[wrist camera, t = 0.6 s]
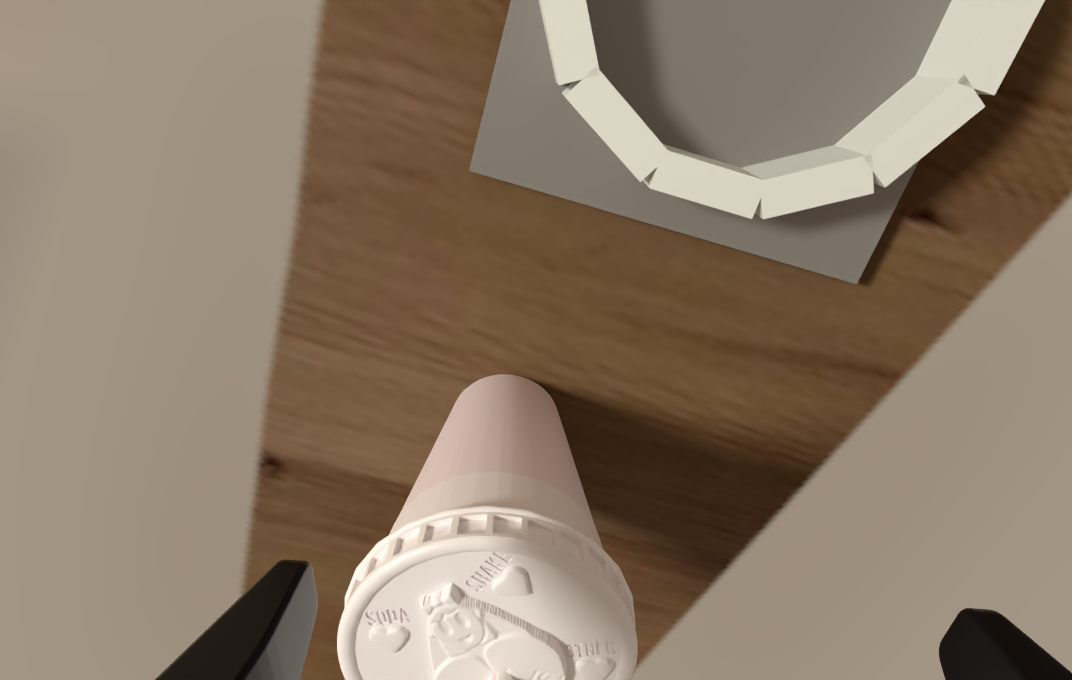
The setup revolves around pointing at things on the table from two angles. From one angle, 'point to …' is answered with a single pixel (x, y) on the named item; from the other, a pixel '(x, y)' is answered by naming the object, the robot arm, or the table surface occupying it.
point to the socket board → (742, 111)
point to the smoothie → (492, 560)
